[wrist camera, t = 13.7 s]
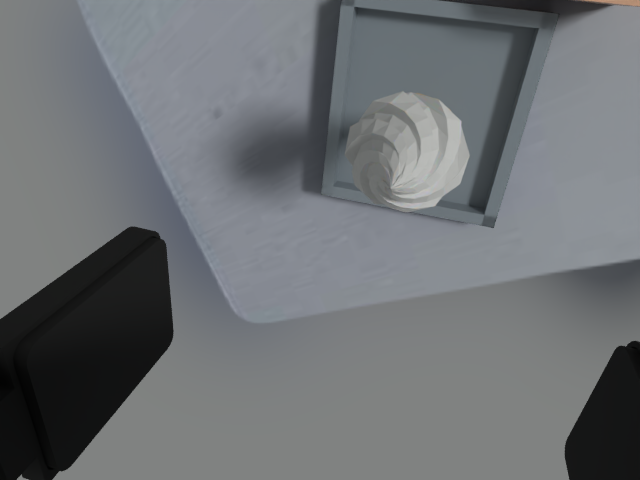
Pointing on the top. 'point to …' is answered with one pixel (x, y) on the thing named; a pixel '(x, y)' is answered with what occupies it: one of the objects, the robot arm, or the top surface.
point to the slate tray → (440, 86)
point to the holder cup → (614, 2)
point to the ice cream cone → (407, 151)
